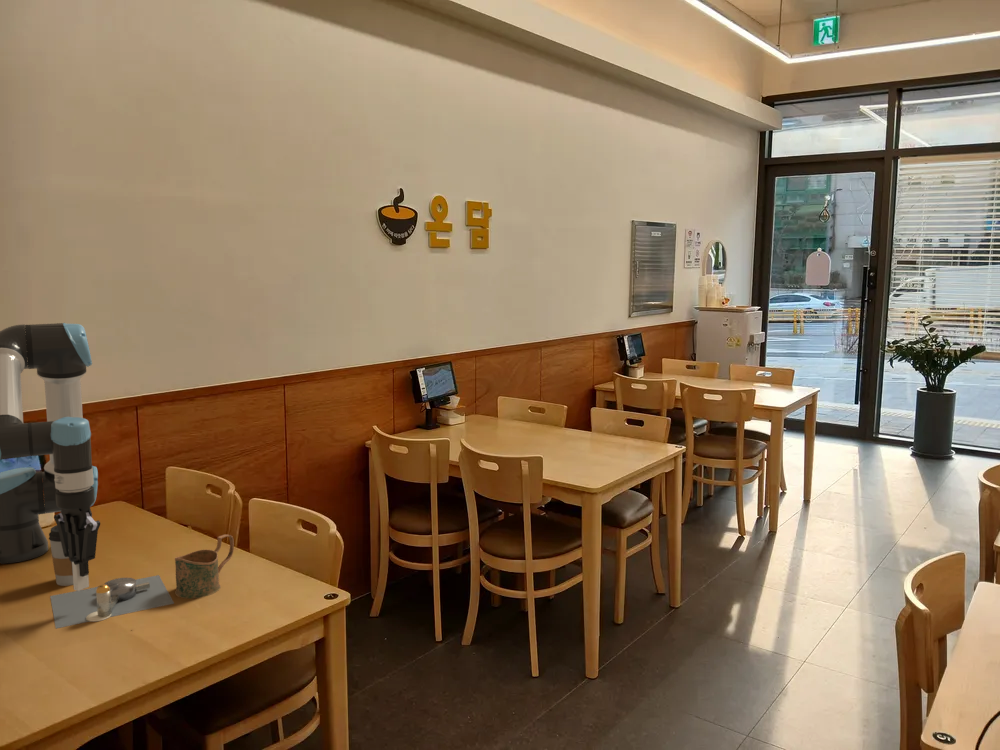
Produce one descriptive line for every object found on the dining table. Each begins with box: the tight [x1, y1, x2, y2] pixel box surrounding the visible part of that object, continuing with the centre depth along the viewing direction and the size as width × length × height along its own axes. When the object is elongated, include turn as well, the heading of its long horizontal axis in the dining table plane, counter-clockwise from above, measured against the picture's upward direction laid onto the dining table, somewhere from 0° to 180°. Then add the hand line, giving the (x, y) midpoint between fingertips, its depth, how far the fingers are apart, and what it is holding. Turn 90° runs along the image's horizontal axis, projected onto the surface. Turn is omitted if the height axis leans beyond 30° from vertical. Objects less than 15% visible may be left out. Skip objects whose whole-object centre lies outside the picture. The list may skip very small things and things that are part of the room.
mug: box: [174, 534, 235, 599], centre depth 191 cm, size 12×18×12 cm, turn 155°
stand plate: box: [49, 574, 175, 629], centre depth 182 cm, size 21×24×2 cm
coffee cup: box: [48, 524, 74, 587], centre depth 193 cm, size 8×8×15 cm
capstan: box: [96, 577, 150, 617], centre depth 180 cm, size 16×12×7 cm
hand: (81, 588), depth 176 cm, fingers closed
